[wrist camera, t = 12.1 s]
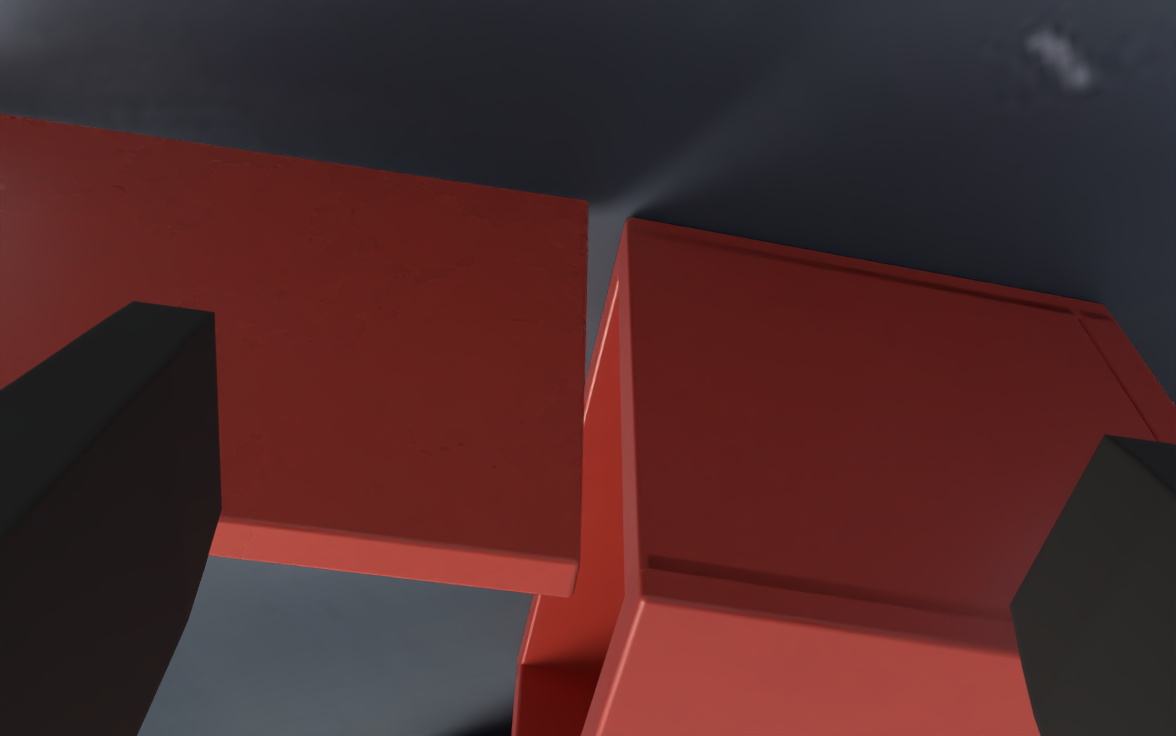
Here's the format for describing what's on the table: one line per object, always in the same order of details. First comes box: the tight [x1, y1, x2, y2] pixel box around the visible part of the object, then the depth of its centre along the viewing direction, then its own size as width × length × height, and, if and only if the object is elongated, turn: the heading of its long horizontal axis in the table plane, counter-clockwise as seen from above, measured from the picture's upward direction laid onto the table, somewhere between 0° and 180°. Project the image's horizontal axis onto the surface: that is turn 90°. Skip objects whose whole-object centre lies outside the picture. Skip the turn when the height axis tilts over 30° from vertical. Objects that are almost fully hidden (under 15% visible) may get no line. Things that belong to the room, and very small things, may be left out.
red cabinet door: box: [0, 114, 589, 598], centre depth 14 cm, size 12×6×9 cm, turn 81°
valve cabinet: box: [511, 217, 1176, 736], centre depth 20 cm, size 12×9×9 cm
